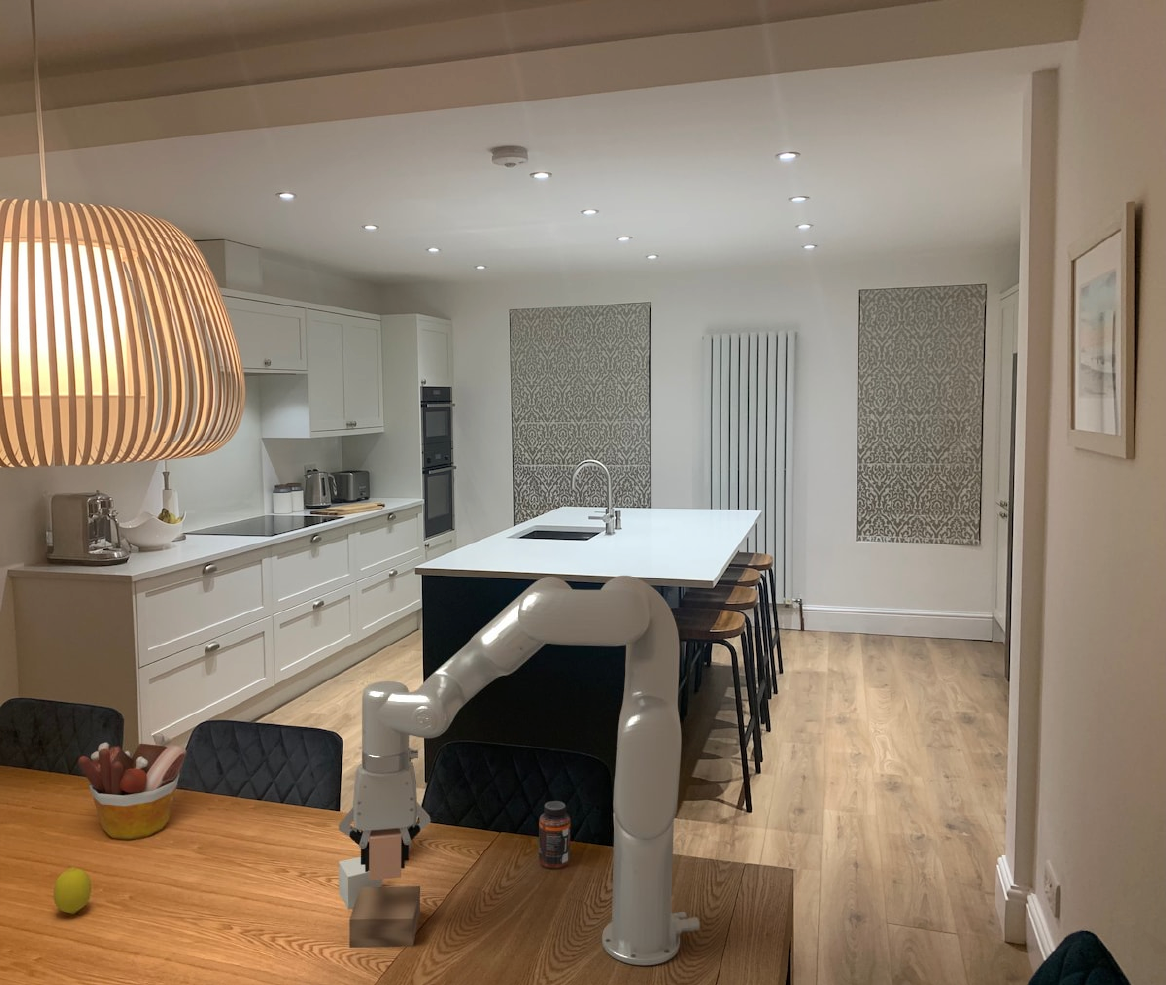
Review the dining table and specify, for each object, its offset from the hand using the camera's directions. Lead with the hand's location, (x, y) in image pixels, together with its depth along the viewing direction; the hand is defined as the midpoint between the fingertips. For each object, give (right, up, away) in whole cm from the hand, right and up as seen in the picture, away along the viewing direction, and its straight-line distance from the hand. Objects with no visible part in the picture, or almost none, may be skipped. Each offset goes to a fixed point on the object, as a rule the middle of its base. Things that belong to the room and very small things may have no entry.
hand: (384, 865), depth 149 cm
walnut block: (0, -11, +1) cm, 11 cm away
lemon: (-53, -10, +4) cm, 54 cm away
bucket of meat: (-58, -7, +35) cm, 68 cm away
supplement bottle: (+27, -10, +24) cm, 38 cm away
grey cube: (-7, -10, +11) cm, 16 cm away
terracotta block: (0, -1, 0) cm, 1 cm away
